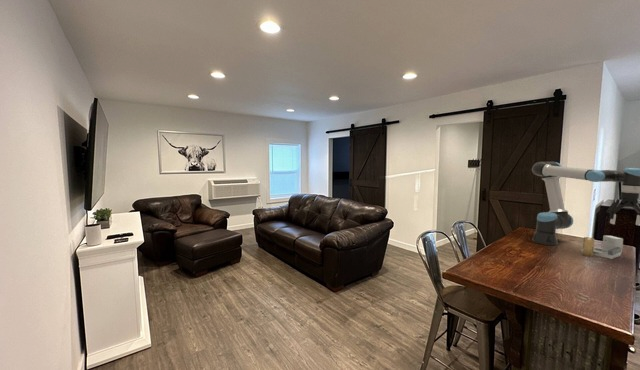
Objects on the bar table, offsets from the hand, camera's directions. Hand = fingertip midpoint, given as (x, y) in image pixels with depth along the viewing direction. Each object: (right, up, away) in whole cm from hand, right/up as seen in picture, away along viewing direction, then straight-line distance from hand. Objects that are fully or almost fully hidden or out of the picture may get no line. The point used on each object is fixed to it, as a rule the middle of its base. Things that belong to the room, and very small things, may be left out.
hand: (625, 224), depth 169 cm
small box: (+10, -22, +16) cm, 29 cm away
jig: (-4, -22, +12) cm, 25 cm away
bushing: (-16, -22, +8) cm, 29 cm away
